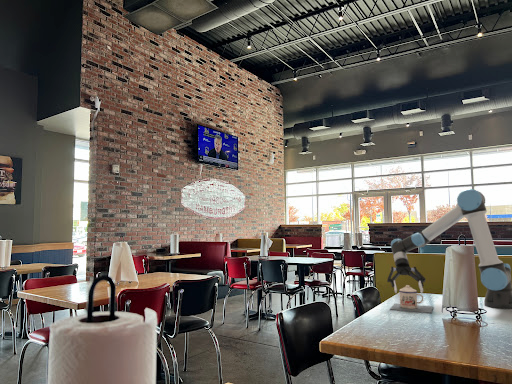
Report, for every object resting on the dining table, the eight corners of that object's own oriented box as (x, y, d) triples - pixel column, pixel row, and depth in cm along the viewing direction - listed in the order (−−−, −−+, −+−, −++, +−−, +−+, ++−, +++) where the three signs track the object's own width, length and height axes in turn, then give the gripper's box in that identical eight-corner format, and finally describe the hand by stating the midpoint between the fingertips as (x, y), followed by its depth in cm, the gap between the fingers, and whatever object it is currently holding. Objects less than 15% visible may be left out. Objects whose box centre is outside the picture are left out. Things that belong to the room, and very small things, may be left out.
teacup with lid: (399, 308, 204) (398, 286, 205) (399, 305, 212) (399, 283, 213) (424, 310, 200) (422, 287, 201) (423, 306, 208) (422, 284, 209)
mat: (433, 307, 208) (433, 306, 208) (431, 313, 194) (431, 312, 194) (394, 304, 218) (394, 303, 218) (389, 309, 204) (389, 308, 204)
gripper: (422, 265, 227) (431, 296, 211) (378, 265, 230) (384, 295, 214) (424, 257, 222) (434, 287, 206) (380, 257, 225) (386, 287, 209)
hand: (409, 291), depth 210 cm, fingers open, 13 cm apart
